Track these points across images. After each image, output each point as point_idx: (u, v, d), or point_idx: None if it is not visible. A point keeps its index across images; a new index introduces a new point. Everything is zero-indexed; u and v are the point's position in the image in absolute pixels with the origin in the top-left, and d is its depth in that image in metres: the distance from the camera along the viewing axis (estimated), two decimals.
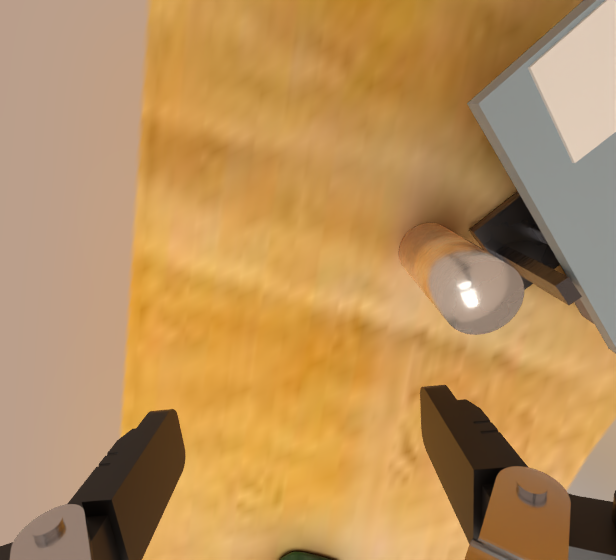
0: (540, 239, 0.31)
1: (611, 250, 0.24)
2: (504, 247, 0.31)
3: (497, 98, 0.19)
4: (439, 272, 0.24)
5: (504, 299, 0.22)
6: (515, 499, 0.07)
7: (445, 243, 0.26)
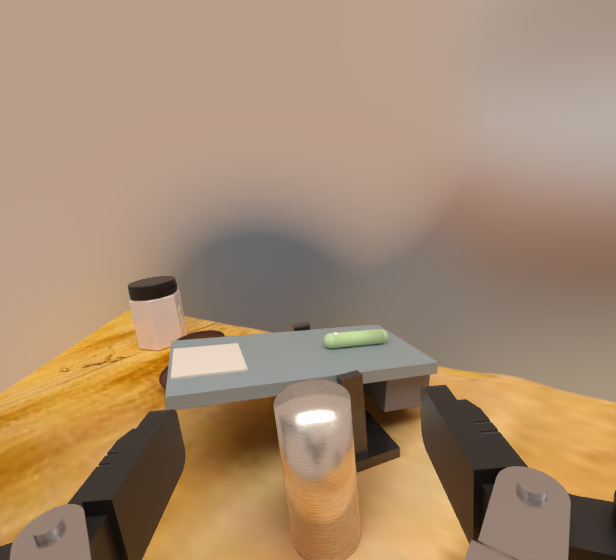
0: None
1: (328, 362, 0.34)
2: None
3: (172, 390, 0.27)
4: (283, 440, 0.23)
5: (319, 388, 0.25)
6: (515, 499, 0.07)
7: None
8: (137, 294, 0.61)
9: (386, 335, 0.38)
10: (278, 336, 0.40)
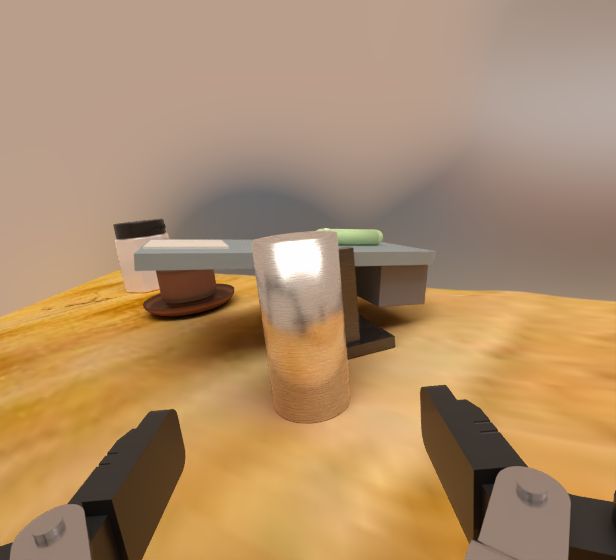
0: None
1: None
2: None
3: (143, 252, 0.25)
4: (261, 273, 0.20)
5: (304, 233, 0.22)
6: (515, 499, 0.07)
7: (261, 313, 0.22)
8: (123, 231, 0.58)
9: (381, 235, 0.36)
10: None
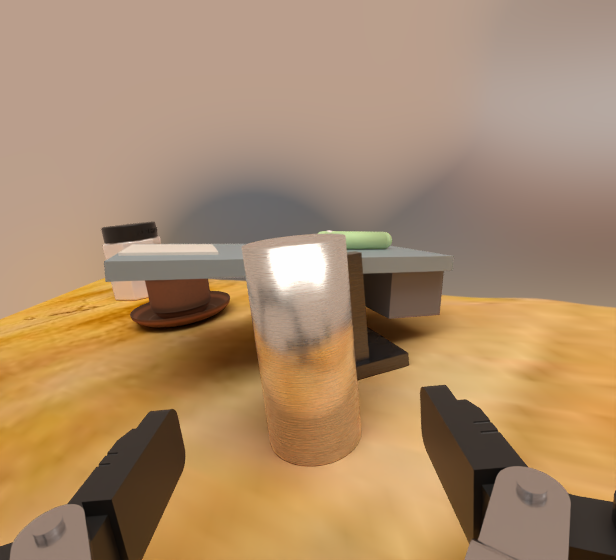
0: None
1: None
2: None
3: (116, 259, 0.21)
4: (253, 285, 0.16)
5: (305, 236, 0.19)
6: (515, 499, 0.07)
7: None
8: (111, 235, 0.55)
9: (390, 237, 0.32)
10: None
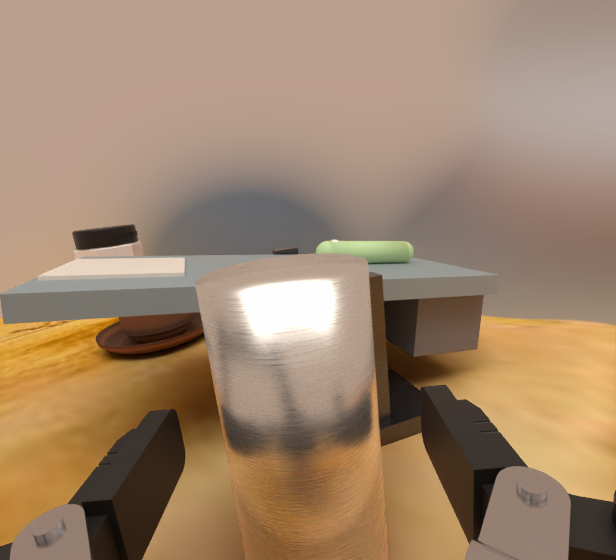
0: None
1: None
2: None
3: (25, 288, 0.14)
4: (213, 349, 0.10)
5: (302, 260, 0.12)
6: (515, 499, 0.07)
7: None
8: (82, 240, 0.48)
9: (411, 249, 0.25)
10: (250, 257, 0.27)
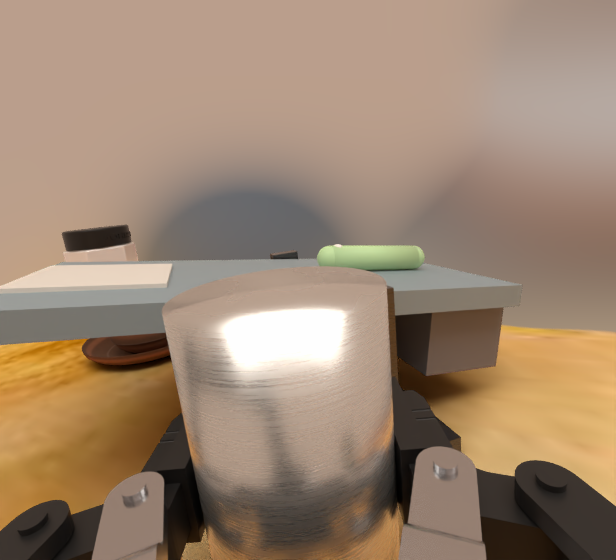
0: None
1: None
2: None
3: None
4: (183, 398, 0.07)
5: (301, 275, 0.10)
6: (428, 474, 0.07)
7: None
8: (72, 242, 0.46)
9: (422, 254, 0.23)
10: (245, 262, 0.25)
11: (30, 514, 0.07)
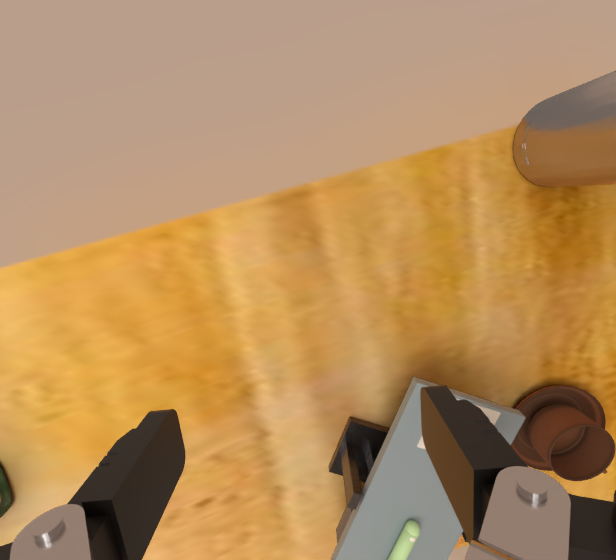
0: (367, 459, 0.45)
1: (387, 502, 0.38)
2: (351, 444, 0.45)
3: None
4: None
5: None
6: (515, 499, 0.07)
7: None
8: None
9: None
10: None
11: None
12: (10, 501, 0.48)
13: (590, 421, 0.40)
